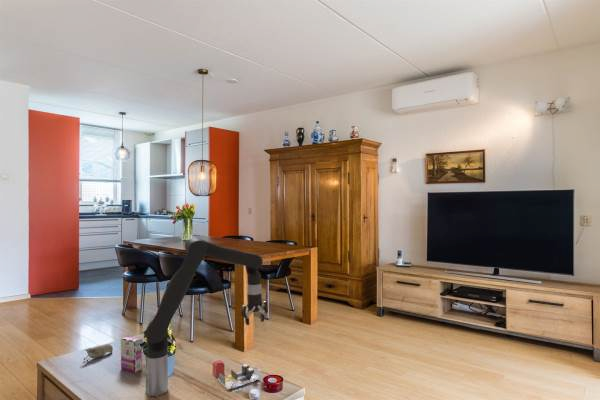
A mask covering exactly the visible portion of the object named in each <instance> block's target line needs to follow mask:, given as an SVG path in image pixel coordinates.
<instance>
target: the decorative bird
mask: <svg viewBox="0 0 600 400" xmlns="http://www.w3.org/2000/svg"><path fill="white" fill-rule="evenodd" d="M113 349H114V348H113V346H112V345H111V344H110V343H106V344H103V345H97V346H94V347H89V348H86V349H84V351H86V353H87V356H86V357H83V361H85V360H86V362H88V361H90V359H97V358H100V357H101V358H102V357H103V356H104V355H106V354H107V353H110V354H111V353H113ZM88 357H89V358H88Z"/></svg>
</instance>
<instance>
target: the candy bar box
mask: <svg viewBox="0 0 600 400" xmlns="http://www.w3.org/2000/svg"><path fill="white" fill-rule="evenodd" d="M142 339H143V338H140V337H135V336H131V335H126V336H124V337H121V338H120V369H121V370H125V371H127V372H131V373H137V372H140V371H142V370H143V346H142V347H141V346H140V344H142V345H143V340H142Z"/></svg>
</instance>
